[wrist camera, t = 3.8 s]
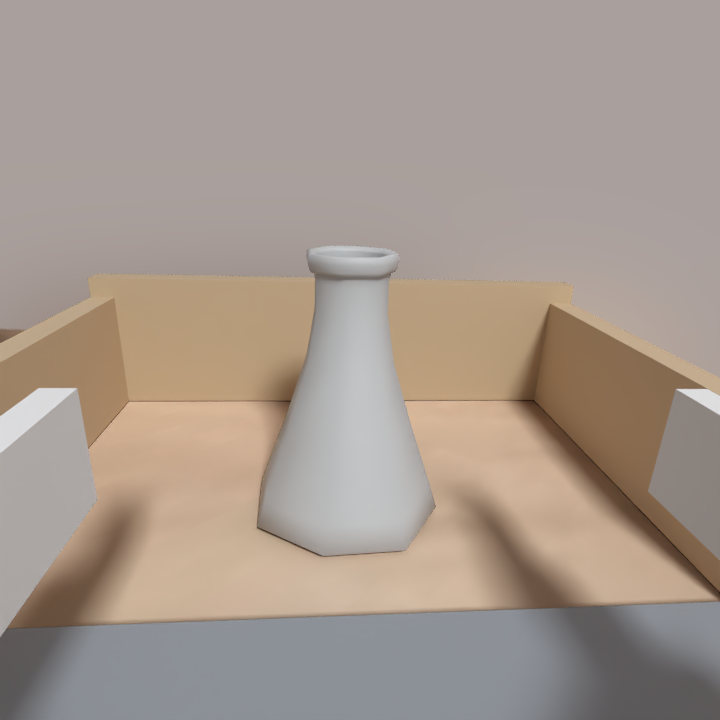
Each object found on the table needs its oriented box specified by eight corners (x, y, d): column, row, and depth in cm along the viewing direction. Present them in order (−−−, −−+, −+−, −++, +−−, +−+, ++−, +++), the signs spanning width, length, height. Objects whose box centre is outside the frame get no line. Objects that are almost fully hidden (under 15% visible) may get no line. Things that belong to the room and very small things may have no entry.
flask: (223, 546, 17) (201, 260, 14) (289, 445, 24) (285, 235, 21) (430, 580, 16) (460, 276, 13) (438, 464, 23) (460, 245, 19)
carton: (-384, 671, 12) (-552, 422, 10) (15, 392, 29) (-12, 271, 26) (786, 622, 15) (877, 414, 13) (544, 392, 31) (563, 282, 29)
